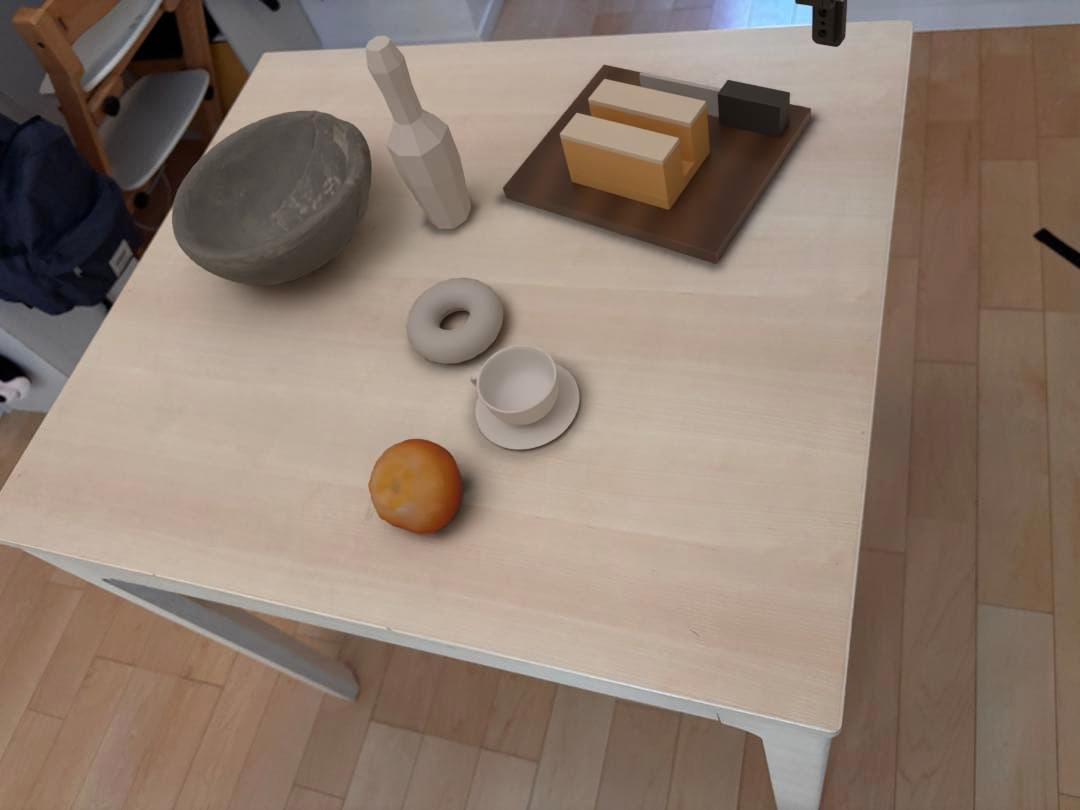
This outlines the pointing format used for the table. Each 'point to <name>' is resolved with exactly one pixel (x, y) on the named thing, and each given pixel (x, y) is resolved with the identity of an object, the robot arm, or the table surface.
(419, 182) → the faceted bottle
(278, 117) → the bowl
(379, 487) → the fruit
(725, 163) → the board
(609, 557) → the table surface
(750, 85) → the kitchen blade
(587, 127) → the orange u-shaped channel
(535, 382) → the teacup
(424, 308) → the donut
